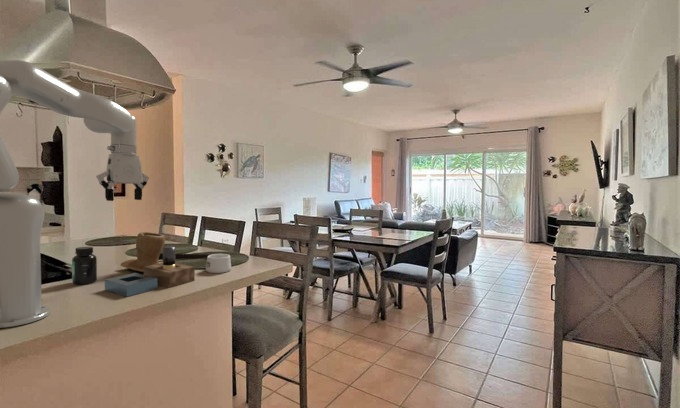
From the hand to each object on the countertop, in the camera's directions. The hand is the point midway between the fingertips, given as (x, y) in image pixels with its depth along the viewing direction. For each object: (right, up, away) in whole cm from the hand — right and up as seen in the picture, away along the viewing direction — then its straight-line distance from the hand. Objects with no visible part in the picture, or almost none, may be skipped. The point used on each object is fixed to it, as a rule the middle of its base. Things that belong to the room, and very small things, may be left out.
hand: (124, 200), depth 123 cm
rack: (+14, -29, +3) cm, 32 cm away
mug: (+26, -28, +19) cm, 43 cm away
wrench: (+3, -27, +33) cm, 43 cm away
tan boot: (-2, -28, +16) cm, 32 cm away
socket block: (+7, -29, -8) cm, 31 cm away
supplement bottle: (-12, -28, -2) cm, 31 cm away
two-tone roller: (+14, -29, +3) cm, 32 cm away
